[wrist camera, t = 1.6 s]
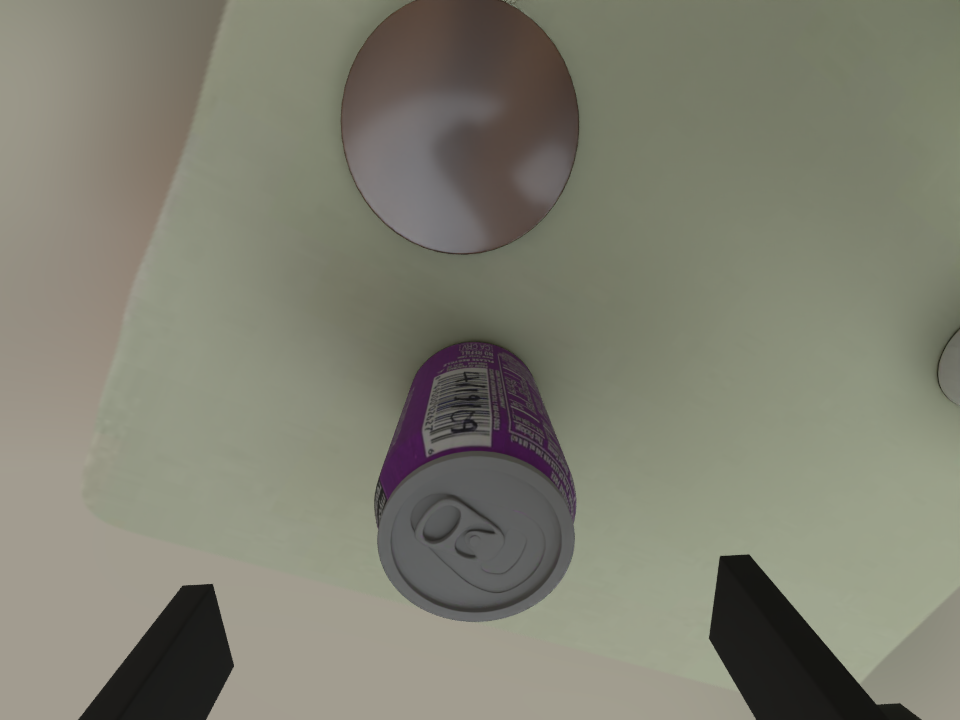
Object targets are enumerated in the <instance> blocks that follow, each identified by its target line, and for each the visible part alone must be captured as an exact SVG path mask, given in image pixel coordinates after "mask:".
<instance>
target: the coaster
mask: <svg viewBox="0 0 960 720" xmlns="http://www.w3.org/2000/svg"><path fill="white" fill-rule="evenodd" d="M341 133H342V142H343V147H344V153H345V157H346V160H347V164H348V167H349V170H350V173H351V175H352V177H353V180H354V182H355V184H356V186H357V188H358V190H359V191H360V193H361V195H362V197H363V198H364V200H365V201H366V203H367V204H368V205H369V207H370V208H371V209H372V211H373V212H374V213H375V214H376V215H377V216H378V217H379V218H380V219H381V220H382V221H383V222H384V223H385V224H386V225H387V226H388V227H389V228H391V229H392V230H393V231H394V232H396V233H397V234H399V235H400V236H402V237H403V238H405V239H407V240H408V241H410V242H412V243H414V244H417V245H419V246H421V247H423V248H427V249H430V250H433V251H437V252H442V253H448V254H475V253H482V252H486V251H490V250H494V249H497V248H500V247H502V246H505V245H507V244H509V243H511V242H513V241H515V240H517V239H518V238H520V237H522V236H523V235H524V234H526V233H527V232H529V231H530V230H531V229H533V228H534V227H535V226H536V225H537V224H538V223H539V222H540V221H541V220H542V219H543V218H544V217H545V216H546V215H547V213H548V212H549V211H550V210H551V209H552V207H553V206H554V205H555V203H556V201H557V200H558V198H559V197H560V195H561V193H562V192H563V190H564V188H565V185H566V183H567V181H568V179H569V177H570V174H571V170H572V167H573V164H574V161H575V156H576V151H577V146H578V135H579V113H578V105H577V99H576V93H575V90H574V86H573V83H572V79H571V76H570V74H569V71H568V69H567V67H566V64H565V62H564V60H563V58H562V56H561V55H560V53H559V51H558V50H557V48H556V46H555V45H554V43H553V42H552V41H551V40H550V38H549V37H548V36H547V34H546V33H545V32H544V31H543V30H542V29H541V28H540V27H539V26H538V25H537V24H536V23H535V22H534V21H533V20H532V19H531V18H529V17H528V16H527V15H525V14H524V13H523V12H521V11H520V10H519V9H517V8H515V7H513V6H511V5H509V4H508V3H506V2H504V1H501V0H415V1H413V2H411V3H409V4H407V5H405V6H403V7H402V8H400V9H399V10H397V11H396V12H394V13H392V14H391V15H390V16H389V17H388V18H386V19H385V20H384V21H383V22H382V23H381V24H380V25H379V26H378V27H377V28H376V29H375V30H374V31H373V33H372V34H371V35H370V36H369V37H368V38H367V40H366V41H365V43H364V45H363V46H362V48H361V49H360V51H359V52H358V54H357V56H356V58H355V61H354V63H353V65H352V67H351V69H350V72H349V75H348V78H347V82H346V85H345V89H344V94H343V100H342V109H341Z"/></svg>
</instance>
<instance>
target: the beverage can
mask: <svg viewBox="0 0 960 720" xmlns="http://www.w3.org/2000/svg"><path fill="white" fill-rule="evenodd" d="M374 508H375V517H376V523H377V527H378V536H377V544H378V552H379V557H380V561H381V564H382V566H383V569H384V571H385V573H386V575H387V576H388V578H389V580H390V581H391V583H392V584H393V585H394V586H395V588H396V589H397V590H398V591H399V592H400V593H401V594H402V595H403V596H404V597H405V598H407V599H408V600H409V601H410V602H412V603H413V604H415V605H416V606H418V607H420V608H421V609H423V610H425V611H427V612H430V613H432V614H434V615H437V616H440V617H443V618H448V619H452V620H457V621H466V622H483V621H492V620H498V619H502V618H506V617H510V616H512V615H515V614H518V613H520V612H523V611H525V610H527V609H529V608H530V607H532V606H534V605H535V604H537V603H538V602H540V601H541V600H542V599H544V598H545V597H546V596H547V595H548V594H549V593H550V592H551V591H552V590H553V589H554V588H555V587H556V586H557V585H558V583H559V582H560V581H561V579H562V578H563V576H564V575H565V573H566V571H567V569H568V567H569V564H570V562H571V559H572V555H573V550H574V542H575V533H574V525H573V524H574V520H575V514H576V491H575V486H574V482H573V478H572V475H571V472H570V470H569V467H568V465H567V462H566V460H565V457H564V454H563V452H562V449H561V447H560V444H559V442H558V439H557V437H556V434H555V431H554V429H553V426H552V424H551V421H550V419H549V416H548V414H547V411H546V408H545V406H544V403H543V401H542V398H541V396H540V393H539V391H538V388H537V385H536V383H535V380H534V378H533V376H532V374H531V373H530V371H529V370H528V368H527V367H526V366H525V364H524V363H523V362H522V361H521V360H520V359H519V358H517V357H516V356H515V355H514V354H512V353H511V352H509V351H507V350H505V349H503V348H501V347H498V346H496V345H492V344H488V343H482V342H466V343H460V344H456V345H452V346H449V347H447V348H445V349H443V350H441V351H439V352H437V353H436V354H434V355H433V356H432V357H430V358H429V359H428V360H427V361H426V362H425V363H424V364H423V365H422V367H421V368H420V369H419V371H418V372H417V374H416V376H415V378H414V380H413V382H412V385H411V388H410V390H409V393H408V396H407V399H406V402H405V405H404V407H403V410H402V413H401V416H400V419H399V422H398V424H397V427H396V430H395V433H394V436H393V439H392V442H391V444H390V447H389V450H388V453H387V456H386V459H385V461H384V464H383V467H382V470H381V473H380V476H379V480H378V483H377V487H376V492H375V500H374Z"/></svg>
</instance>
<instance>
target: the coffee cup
mask: <svg viewBox="0 0 960 720" xmlns="http://www.w3.org/2000/svg"><path fill="white" fill-rule="evenodd" d="M938 377H939V383H940V386H941V389H942V391H943V392H944V394H945V395H946V396H947V397H948V398H949V399H950V400H951V401H953V402H954V403H956V404H957V405H959V406H960V330H959V331H958V332H957V333H956V334H955V335H954V336H953V337H952V339H951V340H950V342H949V343H948V344H947V346H946V348H945V350H944V352H943V354H942V356H941V360H940V363H939V370H938Z"/></svg>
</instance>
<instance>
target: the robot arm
mask: <svg viewBox="0 0 960 720" xmlns="http://www.w3.org/2000/svg"><path fill="white" fill-rule="evenodd" d="M709 639H710V641H711V643H712V644H713V646H714V648H715V650H716V651H717V653H718V655H719V657H720V658H721V660H722V662H723V663H724V665H725V667H726V669H727V670H728V672H729V674H730V675H731V677H732V679H733V681H734V682H735V684H736V686H737V687H738V689H739V691H740V693H741V694H742V696H743V698H744V700H745V701H746V703H747V705H748V706H749V708H750V710H751V712H752V713H753V715H754V717H755V718H756V720H921V719H920V718H919V717H917V716H916V715H915V714H913V713H912V712H910V711H909V710H908V709H907V708H905V707H904V706H903V705H901V704H900V703H899V704H884V705H883V704H881V705H876V704H875V702H874V701H873V700H872V699H871V698H870V697H869V695H868V694H867V693H866V692H865V691H864V689H863V688H862V687H861V686H860V685H859V683H858V682H857V681H856V680H855V679H854V678H853V676H852V675H851V674H850V673H849V672H848V671H847V669H846V668H845V667H844V666H843V665H842V663H841V662H840V661H839V660H838V659H837V658H836V656H835V655H834V654H833V653H832V652H831V650H830V649H829V648H828V647H827V646H826V645H825V643H824V642H823V641H822V640H821V639H820V638H819V636H818V635H817V634H816V633H815V632H814V630H813V629H812V628H811V627H810V626H809V625H808V623H807V622H806V621H805V620H804V619H803V617H802V616H801V615H800V614H799V613H798V612H797V610H796V609H795V608H794V607H793V606H792V605H791V603H790V602H789V601H788V600H787V599H786V597H785V596H784V595H783V594H782V593H781V592H780V590H779V589H778V588H777V587H776V586H775V584H774V583H773V582H772V581H771V580H770V579H769V577H768V576H767V575H766V574H765V573H764V572H763V570H762V569H761V568H760V567H759V566H758V564H757V563H756V562H755V561H754V560H753V559H752V557H751V556H750V555H731V556H720V560H719V567H718V575H717V582H716V590H715V597H714V605H713V612H712V620H711V627H710V635H709ZM233 667H234V664H233V660H232V656H231V653H230V648H229V645H228V641H227V637H226V633H225V629H224V625H223V622H222V618H221V614H220V610H219V606H218V602H217V598H216V595H215V591H214V587H213V584H204V585H186V586H182V587H181V588H180V590H179V591H178V592H177V594H176V595H175V596H174V597H173V599H172V600H171V602H170V603H169V604H168V605H167V607H166V608H165V609H164V610H163V612H162V613H161V614H160V615H159V617H158V618H157V619H156V621H155V622H154V623H153V624H152V626H151V627H150V628H149V630H148V631H147V632H146V633H145V635H144V636H143V637H142V639H141V640H140V641H139V643H138V644H137V645H136V646H135V648H134V649H133V650H132V651H131V653H130V654H129V655H128V657H127V658H126V659H125V660H124V662H123V663H122V664H121V666H120V667H119V668H118V670H117V671H116V672H115V673H114V675H113V676H112V677H111V678H110V680H109V681H108V682H107V684H106V685H105V686H104V687H103V689H102V690H101V691H100V693H99V694H98V695H97V696H96V698H95V699H94V700H93V702H92V703H91V704H90V706H89V707H88V708H87V709H86V710H85V712H84V713H83V714H82V716H81V717H80V718H79V719H78V720H206V719H207V717H208V715H209V713H210V711H211V709H212V707H213V705H214V703H215V701H216V700H217V697H218V696H219V694H220V692H221V690H222V688H223V686H224V684H225V682H226V680H227V678H228V677H229V675H230V673H231V671H232V668H233Z"/></svg>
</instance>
